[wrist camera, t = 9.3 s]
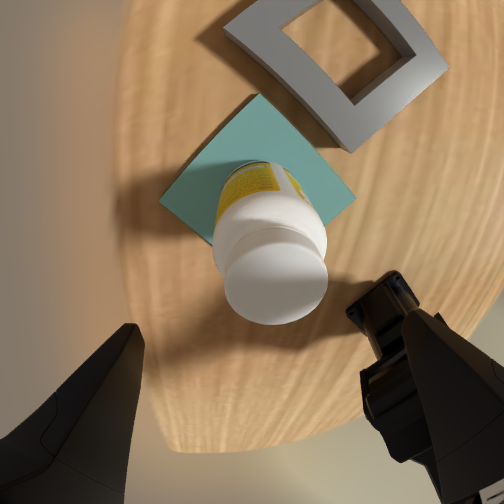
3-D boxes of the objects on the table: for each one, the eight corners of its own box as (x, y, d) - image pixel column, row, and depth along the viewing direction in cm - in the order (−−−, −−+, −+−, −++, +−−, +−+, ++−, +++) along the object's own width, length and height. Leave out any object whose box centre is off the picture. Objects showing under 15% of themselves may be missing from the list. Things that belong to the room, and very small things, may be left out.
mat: (353, 196, 19) (356, 198, 19) (258, 277, 23) (258, 281, 22) (259, 93, 15) (259, 93, 15) (160, 199, 19) (158, 201, 18)
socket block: (433, 68, 14) (449, 67, 12) (340, 148, 17) (351, 153, 16) (337, -40, 9) (346, -51, 8) (224, 35, 13) (222, 27, 11)
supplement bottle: (210, 218, 19) (188, 318, 11) (237, 147, 17) (233, 197, 8) (280, 242, 20) (305, 346, 12) (312, 177, 18) (372, 251, 10)
